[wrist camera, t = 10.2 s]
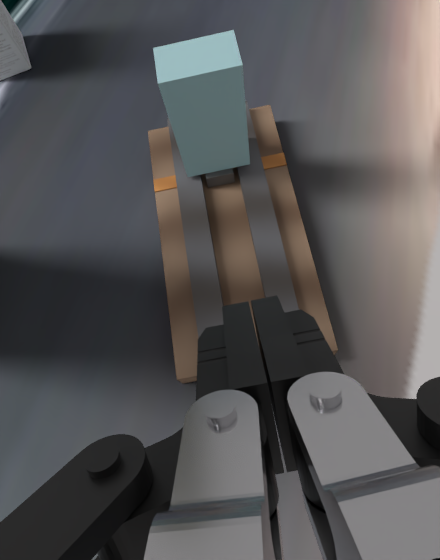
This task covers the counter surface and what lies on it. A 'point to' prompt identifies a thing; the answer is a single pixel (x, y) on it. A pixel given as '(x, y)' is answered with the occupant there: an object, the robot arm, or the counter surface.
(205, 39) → the fader tab
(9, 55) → the skincare box
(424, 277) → the counter surface
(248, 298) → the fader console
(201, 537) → the robot arm
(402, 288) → the counter surface
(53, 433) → the counter surface
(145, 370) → the counter surface
